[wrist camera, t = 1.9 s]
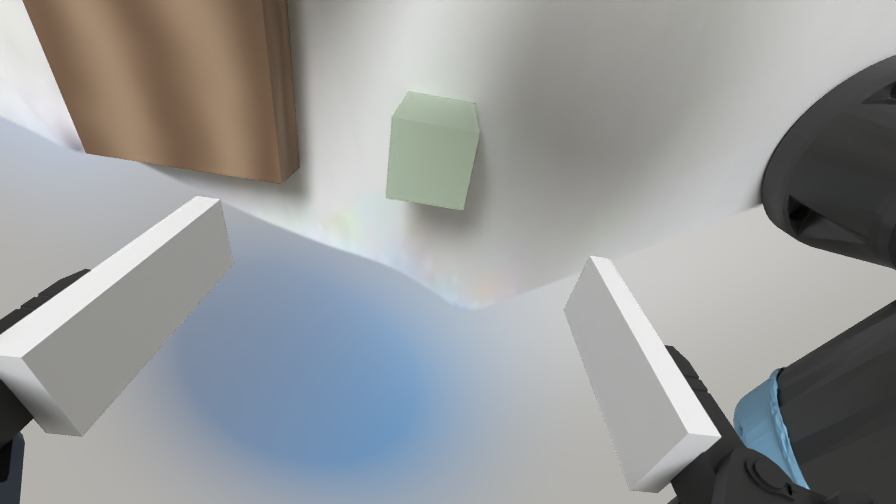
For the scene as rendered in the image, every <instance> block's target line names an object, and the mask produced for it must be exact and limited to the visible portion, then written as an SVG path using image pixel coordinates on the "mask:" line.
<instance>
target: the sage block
mask: <svg viewBox="0 0 896 504" xmlns="http://www.w3.org/2000/svg"><path fill="white" fill-rule="evenodd" d="M479 136H480V129H479V123H478V118H477V112H476V107H475V103H471V102H466V101H461V100H455V99H450V98H444V97H439V96H434V95H428V94H423V93H417V92H412V91H408V93H407V94H406V96H405V97H404V99H403V101H402V102H401V104H400V105H399V107H398V108H397V110H396V111H395V113H394V114H393V116H392V122H391V136H390V149H389V162H388V175H387V189H386V198H389V199H395V200H401V201H407V202H413V203H420V204H426V205H432V206H438V207H444V208H450V209H457V210H464V206H465V201H466V196H467V192H468V187H469V182H470V178H471V173H472V169H473V164H474V159H475V155H476V150H477V145H478V141H479Z"/></svg>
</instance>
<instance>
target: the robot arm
mask: <svg viewBox="0 0 896 504" xmlns="http://www.w3.org/2000/svg"><path fill="white" fill-rule="evenodd" d="M762 200H763V206H764V209H765V211H766V214H767V215H768V217H769V219H770V220H771V221H772V222H773V223H774V224H775V225H776V226H777V227H778V228H780V229H781V230H783V231H784V232H786V233H787V234H789V235H790V236H792V237H794V238H795V239H797V240H798V241H800V242H802V243H804V244H806V245H809V246H811V247H815V248H818V249H822V250H826V251H829V252H833V253H837V254H841V255H844V256H848V257H852V258H856V259H860V260H863V261H867V262H871V263H874V264H878V265H882V266H886V267H889V268H893V269H895V270H896V55H895V56H892V57H889V58H887V59H885V60H882V61H880V62H878V63H876V64H874V65H871V66H869V67H868V68H866V69H864V70H862V71H860V72H858V73H857V74H855V75H853V76H852V77H850V78H848V79H847V80H845V81H844V82H842V83H841V84H839V85H838V86H837V87H835V88H834V89H832V90H831V91H830V92H828V93H827V94H826V95H825V96H823V97H822V98H821V99H820V100H819V101H817V102H816V103H815V104H814V105H813V106H812V107H811V108H810V109H809V110H808V111H807V112H806V113H805V114H804V115H803V116H802V117H801V118H800V119H799V120H798V121H797V122H796V123H795V124H794V126H793V127H792V128H791V129H790V131H789V132H788V133H787V134H786V136H785V137H784V138H783V140H782V141H781V143H780V144H779V146H778V148H777V149H776V151H775V153H774V155H773V157H772V159H771V161H770V163H769V165H768V168H767V170H766V173H765V177H764V181H763V187H762ZM233 265H234V261H233V256H232V252H231V247H230V242H229V238H228V233H227V228H226V224H225V219H224V214H223V210H222V205H221V200H220V199H215V198H208V197H201V196H196V197H194V198H193V199H192V200H190V201H189V202H187V203H186V204H184V205H183V206H182V207H180V208H179V209H177V210H176V211H175V212H173V213H172V214H170V215H169V216H167V217H166V218H165V219H163V220H162V221H161V222H159V223H158V224H156V225H155V226H153V227H152V228H151V229H149V230H148V231H146V232H145V233H144V234H142V235H141V236H139V237H138V238H137V239H135V240H134V241H132V242H131V243H129V244H128V245H126V246H125V247H124V248H122V249H121V250H119V251H118V252H117V253H115V254H114V255H112V256H111V257H110V258H108V259H107V260H105V261H104V262H102V263H101V264H100V265H98V266H97V267H95V268H94V269H93V270H89V269H84V270H82V271H79V272H77V273H75V274H72V275H70V276H68V277H65V278H63V279H60V280H59V281H57V282H56V283H54V284H53V285H51V286H50V287H48V288H47V289H45V290H44V291H42V292H41V293H39V295H38V297H33V298H32V299H30V300H29V301H27V302H26V303H24V304H23V305H21V308H20V309H16V310H14V311H13V312H11V313H10V314H8V315H7V316H5V317H4V318H2V319H1V320H0V504H19V503H20V492H21V481H22V469H23V456H24V445H25V442H24V438H23V435H22V434H21V433H20V431H21V430H22V429H23V428H24V427H25V426H26V425H27V424H28V423H29V422H30V421H31V420H32V419H34V420H35V421H36V422H37V423H38V424H39V425H40V427H41V428H42V429H43V430H44V431H45V432H46V433H51V434H61V435H71V436H83V435H84V434H85V433H86V432H87V431H88V430H89V429H90V427H91V426H92V425H93V424H94V423H95V422H96V421H97V419H98V418H99V417H100V416H101V415H102V414H103V413H104V412H105V410H106V409H107V408H108V407H109V406H110V405H111V404H112V402H113V401H114V400H115V399H116V398H117V397H118V396H119V394H120V393H121V392H122V391H123V390H124V389H125V388H126V387H127V385H128V384H129V383H130V382H131V381H132V380H133V379H134V377H135V376H136V375H137V374H138V373H139V372H140V371H141V369H142V368H143V367H144V366H145V365H146V364H147V362H148V361H149V360H150V359H151V358H152V357H153V356H154V355H155V354H156V352H157V351H158V350H159V349H160V348H161V347H162V346H163V344H164V343H165V342H166V341H167V340H168V339H169V338H170V337H171V335H172V334H173V333H174V332H175V331H176V330H177V328H178V327H179V326H180V325H181V324H182V323H183V322H184V321H185V319H186V318H187V317H188V316H189V315H190V314H191V313H192V311H193V310H194V309H195V308H196V307H197V306H198V305H199V304H200V302H201V301H202V300H203V299H204V298H205V297H206V296H207V294H208V293H209V292H210V291H211V290H212V289H213V288H214V287H215V285H216V284H217V283H218V282H219V281H220V280H221V279H222V277H223V276H224V275H225V274H226V273H227V272H228V270H229V269H230V268H231V267H232V266H233ZM564 312H565V315H566V317H567V320H568V323H569V325H570V328H571V331H572V334H573V336H574V339H575V342H576V345H577V347H578V350H579V353H580V355H581V358H582V361H583V363H584V367H585V369H586V372H587V375H588V377H589V380H590V383H591V386H592V388H593V391H594V394H595V396H596V399H597V402H598V404H599V407H600V410H601V413H602V416H603V418H604V421H605V424H606V427H607V429H608V432H609V435H610V437H611V440H612V443H613V446H614V448H615V451H616V454H617V456H618V459H619V462H620V465H621V467H622V470H623V473H624V476H625V478H626V481H627V484H628V487H629V489H630V490H632V491H643V492H652V493H658V492H659V491H661V490H662V489H663V488H664V487H665V486H666V485H668V484H669V483H670V482H671V484H672V486H673V488H674V491H675V493H676V495H677V496H676V497H675V498H674V499H672V500H671V501H670V502H669V503H668V504H896V300H895V301H893V302H892V303H890V304H888V305H887V306H885V307H883V308H882V309H880V310H878V311H877V312H875V313H873V314H872V315H870V316H869V317H867V318H866V319H864V320H862V321H861V322H859V323H857V324H856V325H854V326H853V327H851V328H849V329H848V330H846V331H845V332H843V333H841V334H840V335H838V336H836V337H835V338H833V339H831V340H830V341H828V342H827V343H825V344H823V345H822V346H820V347H819V348H817V349H815V350H814V351H812V352H810V353H809V354H807V355H806V356H804V357H802V358H801V359H799V360H797V361H796V362H794V363H793V364H791V365H789V366H788V367H783V368H781V369H777V370H775V371H774V372H773V373H772V374H771V376H770V378H769V379H768V380H766V381H765V382H763V383H762V384H761V385H759V386H758V387H756V388H755V389H754V390H752V391H751V392H749V393H748V394H747V395H745V396H744V397H743V398H742V399H741V400H740V401H739V403H738V404H737V406H736V408H735V412H734V419H733V422H734V428H733V427H732V425H731V424H730V422H729V421H728V419H727V418H726V417H725V415H724V414H723V412H722V411H721V409H720V408H719V406H718V405H717V403H716V402H715V400H714V399H713V397H712V396H711V394H709V393H708V392H707V391H708V390H707V388H706V387H705V386H704V384H703V382H702V381H701V380H699V376H698V375H697V373H696V372H695V370H694V369H693V367H692V366H691V364H690V363H689V361H688V360H687V359H686V358H685V357H683V356H682V355H681V354H680V353H679V352H678V351H677V350H676V349H675V348H674V347H673V346H666V345H663V343H662V342H661V340H660V338H659V337H658V335H657V333H656V332H655V330H654V329H653V327H652V326H651V324H650V322H649V321H648V319H647V318H646V316H645V314H644V313H643V311H642V310H641V308H640V306H639V305H638V303H637V302H636V300H635V298H634V297H633V295H632V294H631V292H630V291H629V289H628V288H627V286H626V284H625V283H624V281H623V280H622V278H621V276H620V275H619V273H618V272H617V270H616V268H615V267H614V265H613V264H612V262H611V260H610V259H608V258H601V257H595V256H589V258H588V260H587V262H586V265H585V267H584V269H583V271H582V273H581V275H580V277H579V279H578V281H577V284H576V285H575V288H574V290H573V292H572V294H571V296H570V298H569V300H568V302H567V304H566V306H565V309H564Z"/></svg>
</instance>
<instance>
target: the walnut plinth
mask: <svg viewBox="0 0 896 504" xmlns="http://www.w3.org/2000/svg"><path fill="white" fill-rule="evenodd" d="M23 3H24V5H25V8H26V10H27V12H28V15H29V17H30V20H31V22H32V24H33V27H34V29H35V32H36V34H37V36H38V39H39V41H40V44H41V46H42V48H43V51H44V53H45V56H46V58H47V60H48V63H49V65H50V68H51V70H52V73H53V75H54V77H55V80H56V82H57V85H58V87H59V89H60V92H61V94H62V97H63V99H64V101H65V104H66V106H67V109H68V111H69V113H70V116H71V118H72V121H73V123H74V125H75V128H76V130H77V133H78V135H79V137H80V140H81V142H82V145H83V147H84V149H85V152H86V153H87V154H94V155H100V156H106V157H113V158H119V159H125V160H132V161H138V162H144V163H151V164H157V165H164V166H170V167H176V168H183V169H189V170H195V171H202V172H208V173H214V174H221V175H227V176H233V177H240V178H246V179H253V180H259V181H265V182H272V183H278V184H282V183H283V182H284V181H285V180H286V179H288V178H289V177H290V176H291V175H292V174H293V173H294V172H295V171H296V170H297V169H298V168H299V167H300V166H299V153H298V140H297V127H296V114H295V101H294V88H293V75H292V62H291V49H290V36H289V23H288V10H287V0H23Z"/></svg>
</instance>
